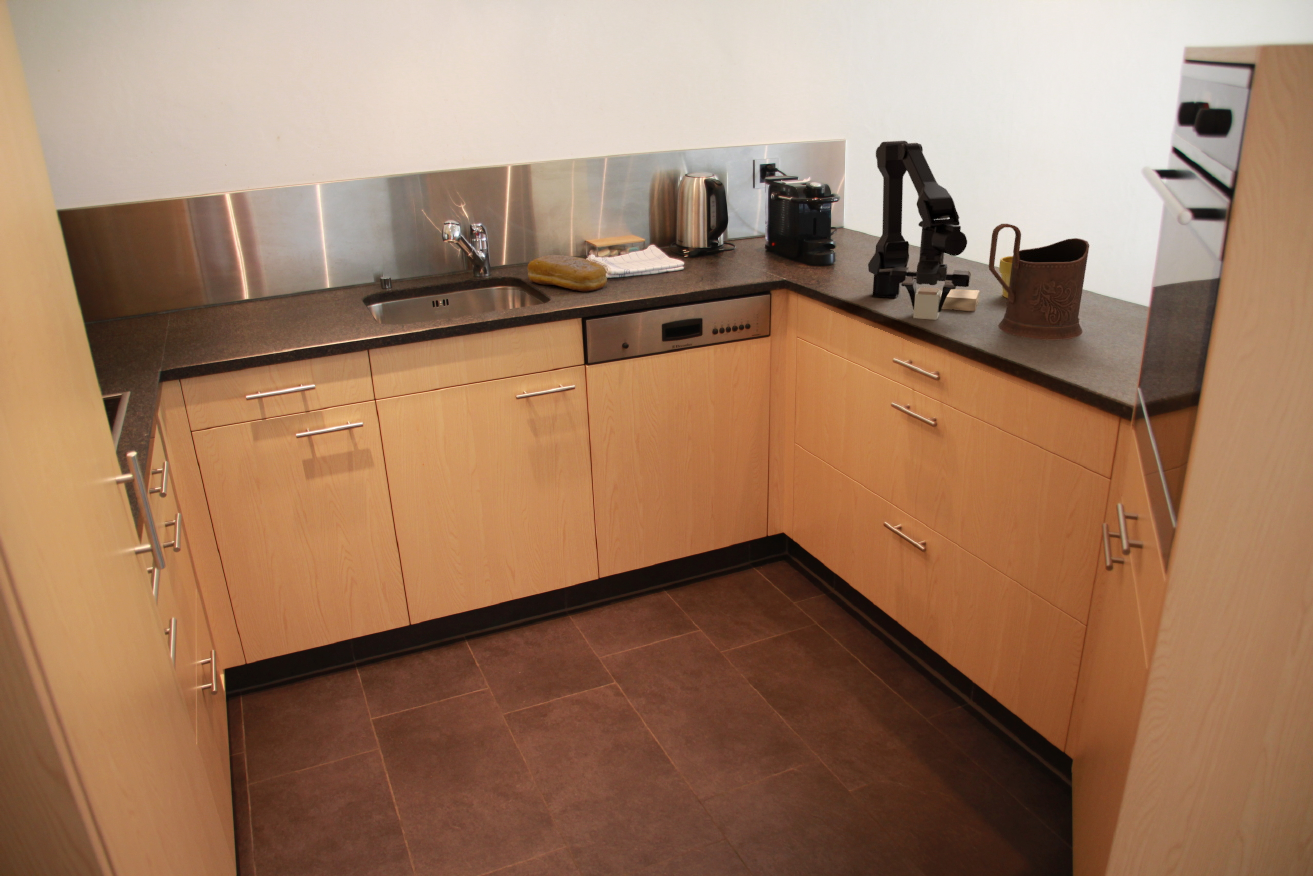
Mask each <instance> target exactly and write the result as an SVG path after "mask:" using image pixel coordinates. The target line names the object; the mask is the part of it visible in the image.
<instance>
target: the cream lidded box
mask: <svg viewBox="0 0 1313 876" xmlns="http://www.w3.org/2000/svg"><path fill="white" fill-rule="evenodd" d="M942 290H943V289H942ZM942 290H941V289H940V288H938V287H927V286H926V287H924V286H923V287H922V286H920V288H917V289H916V294H915V304H914V310H913V317H912V318H913V319H924V320H934V321H935V320H936V321H937V320H938V318H939V316H940V312H938V310H939V303H940V299H941V292H942Z"/></svg>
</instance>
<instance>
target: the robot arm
mask: <svg viewBox="0 0 1313 876" xmlns="http://www.w3.org/2000/svg"><path fill="white" fill-rule="evenodd" d="M923 151H924V150H923V146H922V143H918V142H908V141H906V140H893V141H892V140H891V141H888V140H887V141H882V142H881V143H880V144H879V145H878V146H877V148H876V149H875V158H876V164H877V165H876V166H877V169H878V171H879V172H880V174H881V175H882V179H883V180H882V181H883V182H882V183H883V185H882V186H883V187H882V188H883V189H882V231H881V232H882V234H881V236H880V238H879V240H878V241H877V243H876V244H875V251H874V254H873V256H872V258H871V259H870V260H869V262H868V263H867V267H868V273H870V274H873V284H872V292H871V295H870V296H871V297H874V298H885V299H887V298H888V299H889V298H890V299H896V298H897V296H898V295H899V294H900V293H901V286H902V287H904V288H905V289H906V290H907V293H908V295H909V299H910V302H911V306H912V309H913V311H914V304H915V294H916V292H917V285H930V286H935V285H937V284H938V282H944V284H943V287H942V291H941V292H942V295H941V299H940V303H939V310H938V312H939V313H941V311H942V310H943V309H942V306H943V304H944V302H945V299H946V297H947V295H948V294H949V292H950V290H951V289H957V287H960V288H962V287H963V288H967V287H969V286H970V284H971V281H972V280H971V279H972V278H971V277H972V273H971V271H969V270H959V269H958V270H957V269H955V270H954V271H953V273H948V264H946V263H945V264H944V262H945V261H944V260H945V254H946V255H948V256H951V257H957V256H959V255H961V254H962V253H964V251H965V250H966V248H967V245H968V239H967V235H966V234H965V233H964V232H963V231H961V228H962V227H961V225H960V224H961V223H960V216H959V213H958V210H957V209H956V208H957V207H956V205H955V201H954V199H953V197H952V195H951V193H949V191H948V190H947V189H946V188H945V187H943V186H942V185H940V184H939V183H938V182H937V180H936V178H935V175H934V174H933V171H932V169H931V167H930V165H929V164H928V161H927V159H926V157H925V155H924V153H923ZM906 173H908V176H909V177H910V180H911V183H912V184H913V187H914V189H915V191H916V193H917V200H916V207H917V211H918V214H919V216H920V218H921V221H920V222H919V223H918V227H921V236H920V246H919V259H918V262H917V265H916V271H910V268H909V267H908V263H909V260H910V253H909V249H910V243H909V241H907V240H906V239H905V238H904V236H903V234H902V232H903V231H902V229H903V228H902V227H903V226H902V224H903V194H904V188H903V187H904V176H905V174H906Z"/></svg>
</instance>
